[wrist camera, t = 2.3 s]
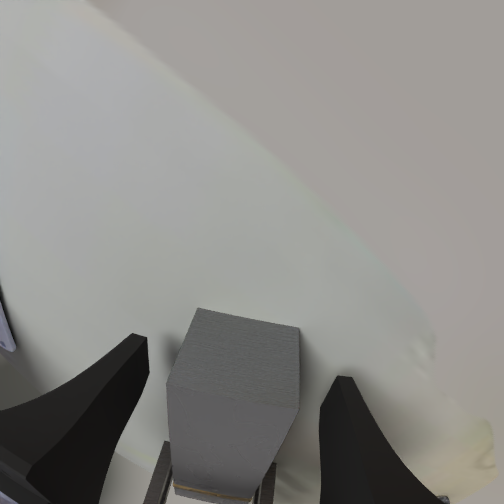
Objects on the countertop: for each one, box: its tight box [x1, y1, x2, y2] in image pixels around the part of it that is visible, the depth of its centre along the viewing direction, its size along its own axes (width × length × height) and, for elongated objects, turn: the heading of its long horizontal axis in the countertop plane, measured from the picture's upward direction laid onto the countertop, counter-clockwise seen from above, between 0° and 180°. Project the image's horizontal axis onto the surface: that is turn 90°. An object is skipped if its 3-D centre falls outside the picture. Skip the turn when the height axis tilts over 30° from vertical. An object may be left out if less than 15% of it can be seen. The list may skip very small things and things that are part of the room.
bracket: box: [143, 441, 276, 504], centre depth 15 cm, size 7×1×6 cm, turn 81°
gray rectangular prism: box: [166, 308, 299, 504], centre depth 13 cm, size 4×11×4 cm, turn 171°
